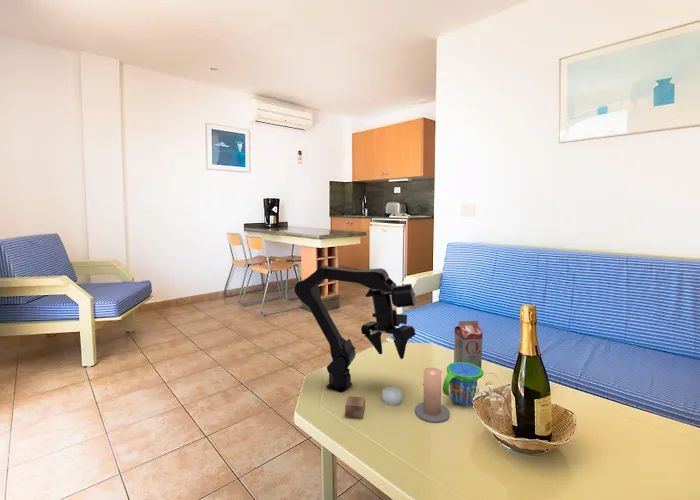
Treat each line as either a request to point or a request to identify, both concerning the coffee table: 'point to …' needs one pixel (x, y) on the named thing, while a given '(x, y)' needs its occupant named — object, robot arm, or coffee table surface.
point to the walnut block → (355, 407)
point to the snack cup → (462, 382)
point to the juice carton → (468, 343)
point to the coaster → (432, 418)
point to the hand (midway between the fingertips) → (391, 356)
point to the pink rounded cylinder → (432, 391)
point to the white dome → (391, 396)
